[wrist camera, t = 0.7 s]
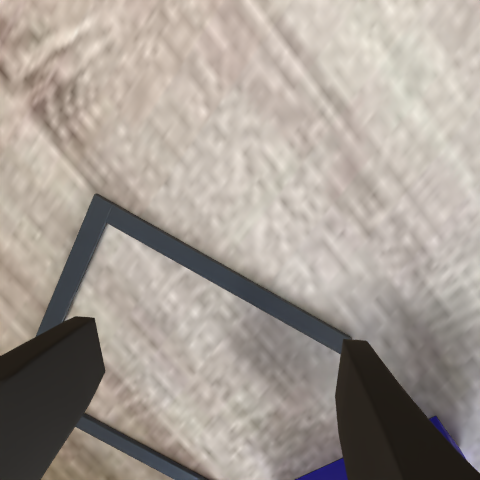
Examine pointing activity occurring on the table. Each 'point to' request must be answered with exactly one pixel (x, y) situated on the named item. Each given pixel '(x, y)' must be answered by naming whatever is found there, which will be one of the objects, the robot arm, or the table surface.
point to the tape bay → (191, 259)
